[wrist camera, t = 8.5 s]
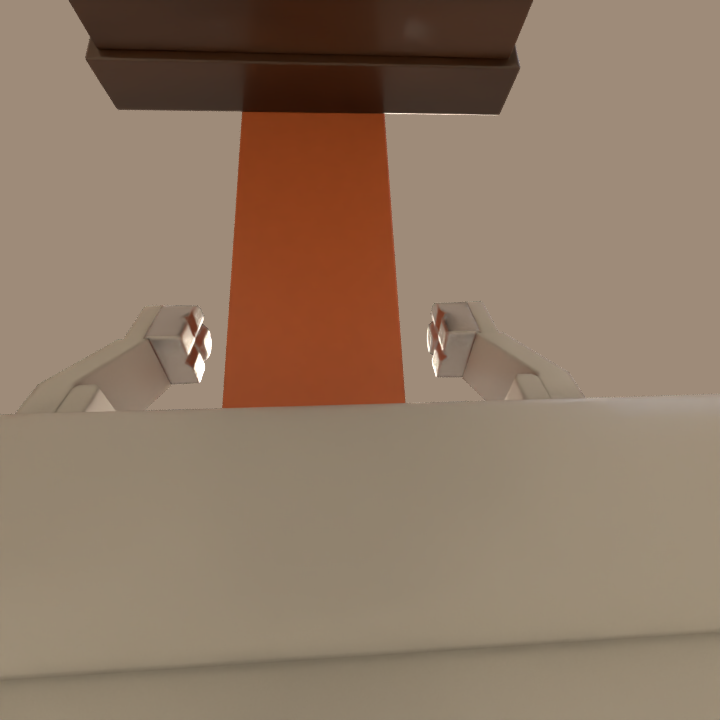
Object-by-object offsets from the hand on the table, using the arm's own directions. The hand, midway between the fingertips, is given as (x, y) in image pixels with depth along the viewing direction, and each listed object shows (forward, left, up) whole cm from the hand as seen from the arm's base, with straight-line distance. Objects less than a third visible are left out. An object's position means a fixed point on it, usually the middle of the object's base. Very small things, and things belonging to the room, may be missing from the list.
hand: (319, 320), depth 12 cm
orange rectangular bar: (+8, +5, -2) cm, 9 cm away
